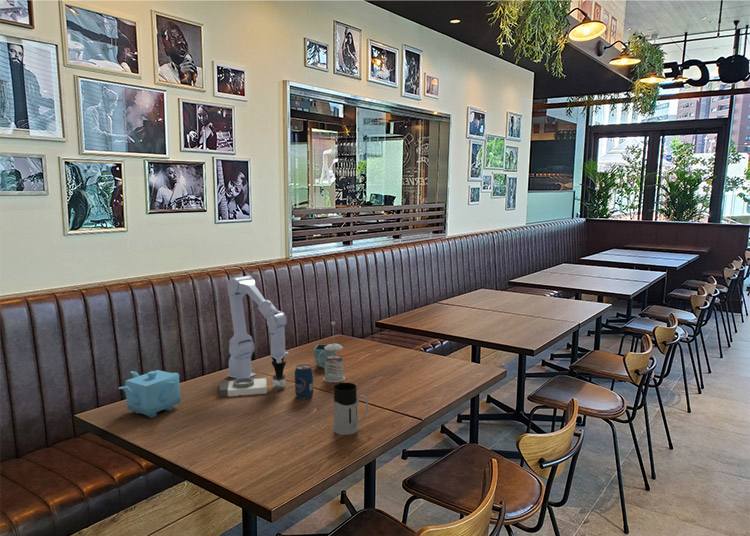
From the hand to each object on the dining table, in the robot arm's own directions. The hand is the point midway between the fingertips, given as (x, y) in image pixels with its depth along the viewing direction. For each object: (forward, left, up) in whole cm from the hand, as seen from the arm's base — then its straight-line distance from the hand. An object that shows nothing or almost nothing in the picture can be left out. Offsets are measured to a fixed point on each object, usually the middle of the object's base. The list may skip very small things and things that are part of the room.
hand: (279, 374), depth 222 cm
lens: (0, 0, -5) cm, 5 cm away
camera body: (-10, -10, -5) cm, 15 cm away
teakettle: (-23, -43, -6) cm, 49 cm away
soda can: (+15, -2, -6) cm, 16 cm away
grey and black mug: (+49, -18, -6) cm, 52 cm away
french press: (+12, +20, -6) cm, 24 cm away
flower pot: (-1, +32, -6) cm, 32 cm away
